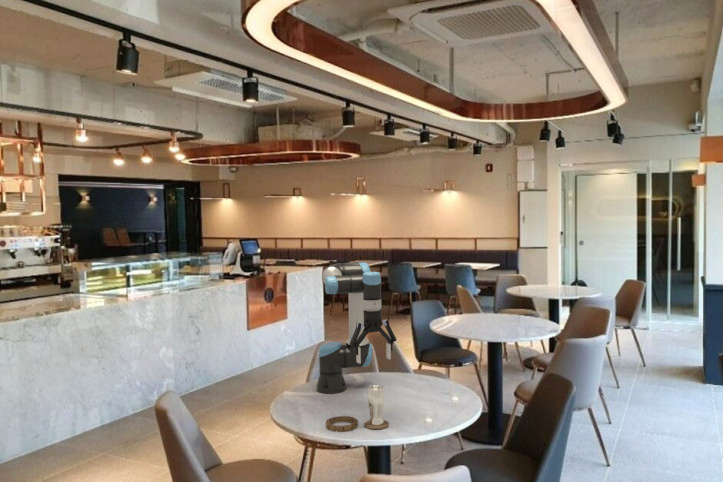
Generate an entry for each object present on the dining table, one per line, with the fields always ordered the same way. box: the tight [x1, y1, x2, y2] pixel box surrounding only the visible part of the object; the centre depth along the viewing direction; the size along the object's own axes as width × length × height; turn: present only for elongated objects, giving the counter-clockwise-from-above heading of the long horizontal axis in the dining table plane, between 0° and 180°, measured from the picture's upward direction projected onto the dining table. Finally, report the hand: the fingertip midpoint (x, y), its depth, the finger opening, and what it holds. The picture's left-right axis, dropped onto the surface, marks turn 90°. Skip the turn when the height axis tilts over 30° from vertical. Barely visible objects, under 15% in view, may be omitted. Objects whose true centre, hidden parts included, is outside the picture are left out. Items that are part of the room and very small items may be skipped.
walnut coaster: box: [364, 419, 390, 431], centre depth 238 cm, size 10×10×1 cm
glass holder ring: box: [325, 415, 359, 433], centre depth 238 cm, size 13×13×2 cm
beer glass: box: [367, 384, 385, 426], centre depth 238 cm, size 7×7×15 cm
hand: (373, 360), depth 238 cm, fingers open, 13 cm apart
